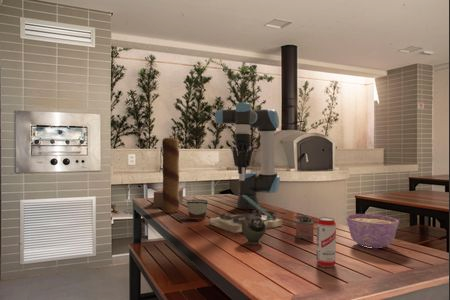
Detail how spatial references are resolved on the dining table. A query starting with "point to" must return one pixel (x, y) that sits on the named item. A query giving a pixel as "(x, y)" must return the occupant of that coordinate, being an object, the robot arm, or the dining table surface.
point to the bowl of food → (372, 229)
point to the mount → (236, 223)
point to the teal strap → (257, 206)
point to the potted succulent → (304, 227)
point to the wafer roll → (170, 175)
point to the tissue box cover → (159, 197)
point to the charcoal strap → (242, 215)
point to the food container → (197, 208)
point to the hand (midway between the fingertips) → (241, 180)
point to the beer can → (326, 242)
